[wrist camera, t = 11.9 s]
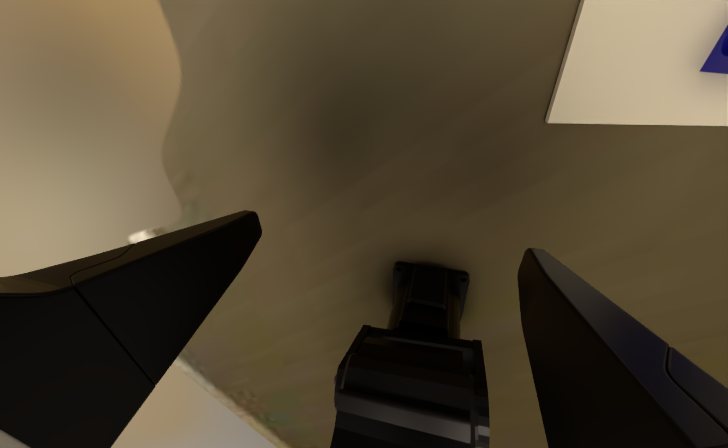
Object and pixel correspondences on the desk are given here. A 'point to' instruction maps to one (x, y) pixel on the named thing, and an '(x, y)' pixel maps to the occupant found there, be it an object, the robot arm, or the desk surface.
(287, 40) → the desk surface
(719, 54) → the cable clip
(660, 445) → the robot arm
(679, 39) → the desk mat
